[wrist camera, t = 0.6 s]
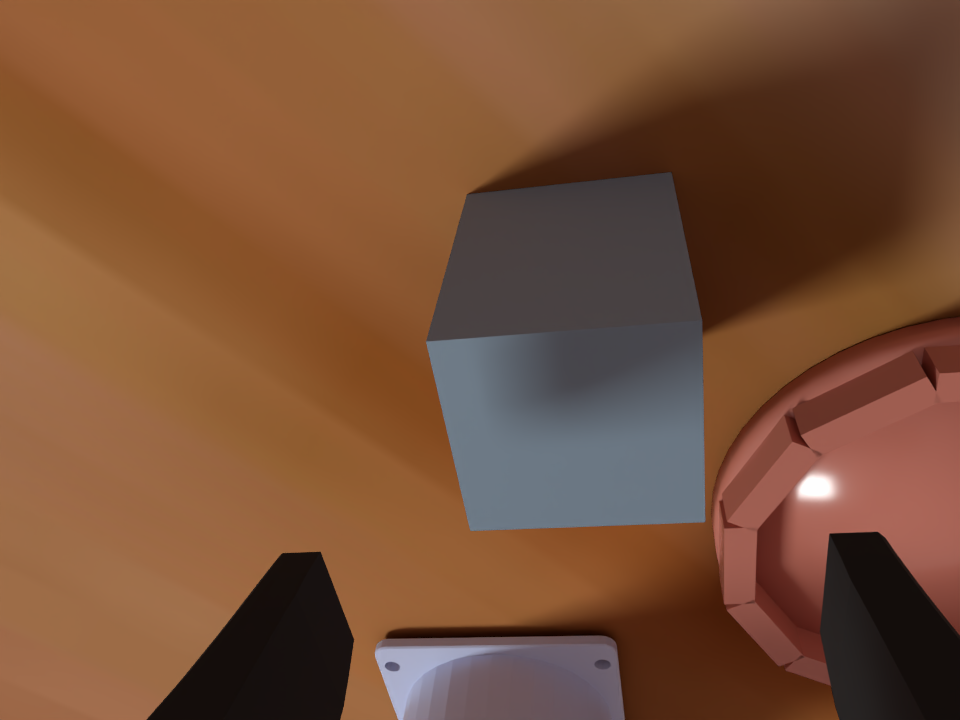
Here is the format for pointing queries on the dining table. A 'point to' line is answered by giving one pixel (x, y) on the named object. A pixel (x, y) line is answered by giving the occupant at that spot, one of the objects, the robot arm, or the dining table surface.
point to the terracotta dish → (843, 485)
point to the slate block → (572, 357)
